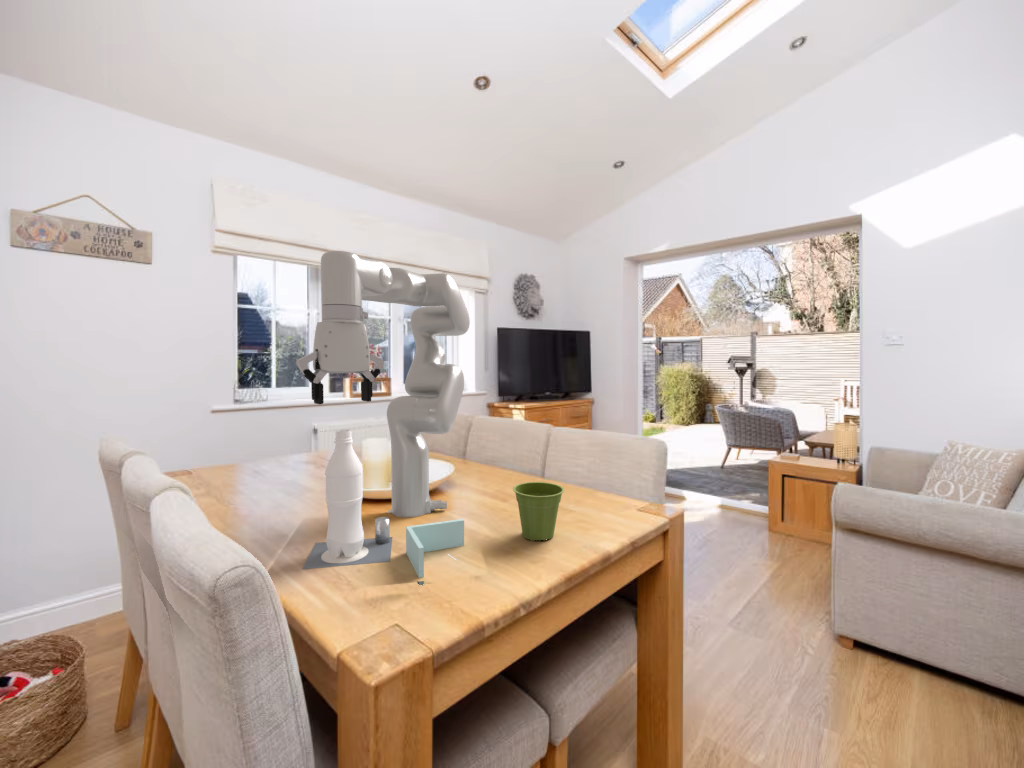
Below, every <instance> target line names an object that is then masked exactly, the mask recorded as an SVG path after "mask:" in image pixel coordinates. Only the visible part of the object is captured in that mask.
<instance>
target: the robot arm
mask: <svg viewBox="0 0 1024 768" xmlns="http://www.w3.org/2000/svg"><path fill="white" fill-rule="evenodd" d="M320 288H321V289H320V290H321V292H320V293H321V294H320V295H321V299H320V300H321V321H319V322H318V321H317V322H316V326H315V331H314V339H313V349H312V352H310V353H308V354H306V355H305V356H303V357H301V358H299V359H297V360H295V363H296V365H297V368H298V369H299V370H300V373H301V375H302V376H303V377H304V378H305V379H306V380H308V381H309V383H310V384H311V400H313V403H314V404H315V405H323V404H324V398H325V397H324V383H322V380H323V379H324V378H325V376H326V375H327V374H358V375H359V376H360V377H361V379H362V380H363V381H361V383H360V389H361V390H360V392H361V393H360V395H361V396H360V397H361V401H363V402H366V403H367V402H372V397H373V389H374V387H373V383H374V382H375V380H376V378H378V376H379V375H380V373H381V370H382V369H383V366H384V365H385V361H384V360H383V359H382V358H380V357H377V356H376V355H375V354H373V353H371V352H370V351H371V350H370V343H369V337H368V331H367V328H366V323H363V321H364V320H365V319H366V320H367V319H368V318H369V313H368V312H366V311H364V308H363V303H362V302H363V301H365V302H366V301H367V302H375V303H376V302H377V303H384V304H398V305H399V304H400V305H405V306H409V307H410V306H412V307H419V308H415V309H414V310H413V311H412V313H411V316H410V326H411V327H410V329H411V332H412V336H413V339H414V340H413V341H414V343H415V353H414V357H413V358H412V362H411V364H410V366H409V369H408V371H407V374H406V378H405V381H404V390H405V392H406V394H408V395H402V396H398V397H395V398H394V399H392V400H391V401H390V402H389V404H388V406H387V410H386V419H387V424H388V430H389V435H390V448H391V449H390V453H391V458H390V459H391V460H390V463H391V467H390V468H391V473H390V474H391V509H389V510H387V511H386V514H389V513H391V514H392V515H393V516H395V517H398V518H414V517H415V518H416V517H420V516H424V515H427V514H431V513H432V512H435V510H447V508H448V507H447V504H448V503H447V501H444V500H443V501H442V499H437V500H433V499H431V495H430V489H429V488H430V464H429V463H430V461H429V460H430V452H429V447H428V444H427V441H426V439H425V438H424V435H422V434H428V435H429V434H430V435H443V434H448V433H449V432H451V430H452V429H453V427H454V424H455V421H456V418H457V414H458V412H459V408H460V404H461V401H462V397H463V393H464V388H465V376H464V373H463V370H462V369H461V367H459V365H457V364H452V363H445V361H446V352H445V350H444V349H443V347H442V345H441V344H440V343H439V342H438V341H437V339H436V338H435V337H446V336H447V337H448V336H449V337H451V336H452V337H453V336H454V337H456V336H457V337H459V336H462V335H465V334H466V333H467V332H468V330H469V328H470V323H471V321H470V320H471V319H470V316H469V315H470V314H469V311H468V309H467V307H466V304H465V301H464V298H463V296H462V293H461V291H460V289H459V286H458V285H457V283H456V280H455V279H454V278H453V277H452V276H451V275H450V274H448V273H444V272H442V273H424V274H423V273H416V272H415V271H414V272H413V271H411V270H407V269H405V268H400V267H389V266H388V265H387V264H386V263H385V262H383V261H380V260H378V259H376V258H375V259H374V258H367V257H361V256H359V255H357V254H356V253H354V252H350V251H344V250H329V251H326V252H324V253H323V254H322V256H321V258H320ZM311 362H312V368H313V370H314V372H312V370H311V369H309V366H308V364H309V363H311ZM371 363H373V365H374V366H373V368H372V369H371V370H370V366H371Z"/></svg>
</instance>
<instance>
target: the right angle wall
mask: <svg viewBox="0 0 1024 768" xmlns="http://www.w3.org/2000/svg"><path fill="white" fill-rule="evenodd" d="M405 546H406V548H405V553H406V555H407V557H408V559H409V561H410V564H411V565H412V567H413V568H414V571H415V573H416V575H417V577H418V578H419V579H420V578H422V579H423V578H424V577H425V575H424V574H425V558H424V557H425V553H427V552H432V551H438V550H440V551H441V550H446V549H450V548H451V549H452V548H458V547H462V546H465V520H464V519H463V518H460V519H452V520H446V521H445V520H444V521H437V522H430V523H424V524H422V523H421V524H415V525H407V526H405ZM446 555H448V556H449V557H450V558H452V559H454V560H455V561H458V559H456V558H455V557H453V555H451V554H449V553H446ZM417 582H418V583H417V585H418V584H419V585H422V586H424V585H425V581H424V580H417ZM423 584H424V585H423ZM419 585H418V586H419Z"/></svg>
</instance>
